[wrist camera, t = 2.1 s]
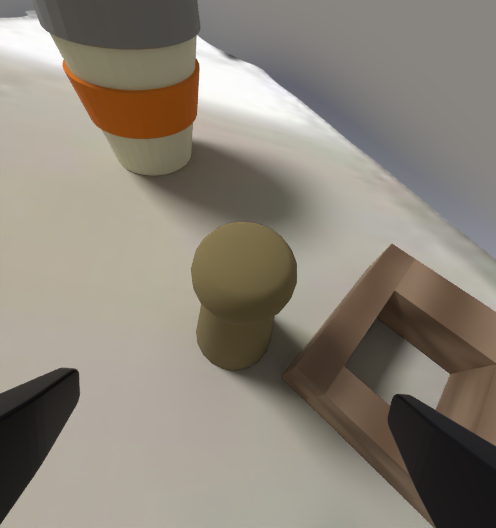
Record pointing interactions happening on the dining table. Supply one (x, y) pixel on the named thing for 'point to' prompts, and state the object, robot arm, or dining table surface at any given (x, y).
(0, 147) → the dining table surface
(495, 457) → the robot arm
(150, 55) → the reusable coffee cup
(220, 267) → the cork
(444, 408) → the walnut jig
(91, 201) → the dining table surface
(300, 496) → the dining table surface
